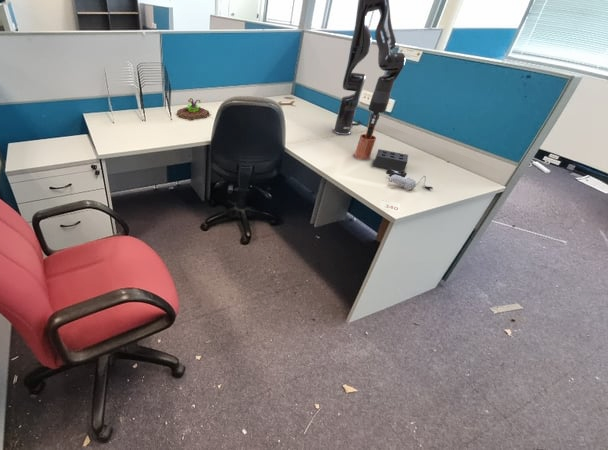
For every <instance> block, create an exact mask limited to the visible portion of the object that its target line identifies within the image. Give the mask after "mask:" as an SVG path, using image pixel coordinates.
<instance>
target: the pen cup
mask: <svg viewBox="0 0 608 450" xmlns="http://www.w3.org/2000/svg"><path fill="white" fill-rule="evenodd" d="M365 135H366V133H364V134H361V135H360V136H359V139H358V142H357V145H356V148H355V149H356V150H355V152H354V158H356V159H359V160H365V161H366V160H369V159H370V158H371V155H372V152H373V149H374V147H375V143H376V141H377V137H376V136H375V135H372V138H369V139H367V138H366V137H365Z"/></svg>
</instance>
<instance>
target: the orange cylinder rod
mask: <svg viewBox="0 0 608 450" xmlns="http://www.w3.org/2000/svg"><path fill="white" fill-rule="evenodd" d="M368 127H369V125H367V129H366V132H365V134H366V135H367V131H368ZM370 127H372V126H370ZM375 128H376V125H375V126H374V130H373V132H372V135H373V134H374V131H375ZM366 135H365V137H366ZM372 135H371V137H370V138H372ZM373 136H374V135H373ZM366 138H367V139H369V138H368V137H366Z"/></svg>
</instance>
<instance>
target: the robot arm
mask: <svg viewBox="0 0 608 450" xmlns="http://www.w3.org/2000/svg"><path fill="white" fill-rule="evenodd" d="M373 11H378V12H379V20H378V23H377V25H376V28H375V33H374V37H375V42H376V45H377V48H378V55H377V56H378V57H377V58H378V59H377V64H378V67H379V69H380V70H381V71H384V72H385V71H386V73H385V74H383V75H381V76H379V77H378V78H377V82H376V84H375V88H374V91H373V93H372V96H371V99H370V102H369V105H368V110H369V111H370V112H371V113H370V115H369V120H368V126H369V127H368V126H367V129H368V131H367V130H366V132H367V135H366V137H368V138H370V137H371V135H372V132H373V133H374V131H375V128H374V126H375V127H376V125H377V123H378V121H379V118H380V116H381V114H380V113H382V114H383V113H385V112H386V110H387V108H388V104H389V102H390V98H391V94H392V91H393V87H394V85H395V82H396V80H397V78H398V77H399V76H400V74H401V72H402V70H403V68H404V67H405V64H406V55H405V54H404V53H403V52H399V51H398V52H392V51H393V50H394V49H395V48H396V46H397V40H396V35H395V32H394V29H393V26H392V20H391V19H392V17H391V8H390V0H358V1H357V9H356V17H355V23H354V29H353V34H352V40H351V43H350V48H349V55H348V59H347V60H348V61H347V65H346V68H345V73H344V76H343V81H342V89H343V90H344V91H348V92H354V93H352V94H349V95H343V97H342V98H341V100H340V104H339V107H338V112H337V116H336V120H335V125H334V128H333V133H335V134H338V135H342V136H346V135H349V134H350V133H351V129H352V126H358V125H360V124H361V123H362V121H361V122H359V121H358V122H357V123H355V122H354V119H355V115H356V111H357V108H358V104H359V101H360V96H361V93H362V91H363V88H364V84H365V82H366V74H365V73H359V72H353V71H354V69H355V68H356V67H357V66H358V65H359V64H360V63H361V62H362V61H363V60H364V59H365V58H366V57H367V55H368V54H369V53H370V49H371V45H372V40H373V36H372V33H371V30H370V29H369V26H368V24H367V15H368V13H370V12H373ZM353 122H354V123H353ZM370 126H372V127H370ZM373 130H374V131H373Z"/></svg>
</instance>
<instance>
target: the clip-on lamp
mask: <svg viewBox="0 0 608 450" xmlns="http://www.w3.org/2000/svg"><path fill="white" fill-rule="evenodd" d="M385 174H386V175H388V176H387V180H390V182H391V183H393V184H397V185H399V186H401V187H402V188H403V189H405V190H408V191H411V190H412V189H414V188H416V186H417V185H419V183H420V182H421V181H422V180H423V178H424V180H423V186H424V188H425V189H426V190H434V187H433V186H426V180H427V177H426V175H423V176H422V177H421V178H420V179H419V181H418V182H417V183H416V179H414V178H413V177H406V176H407V174H408V173H407V172H405V170H404V171H401V172H399V171H396V170H392V169H388V170H387V169H386V171H385Z"/></svg>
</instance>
